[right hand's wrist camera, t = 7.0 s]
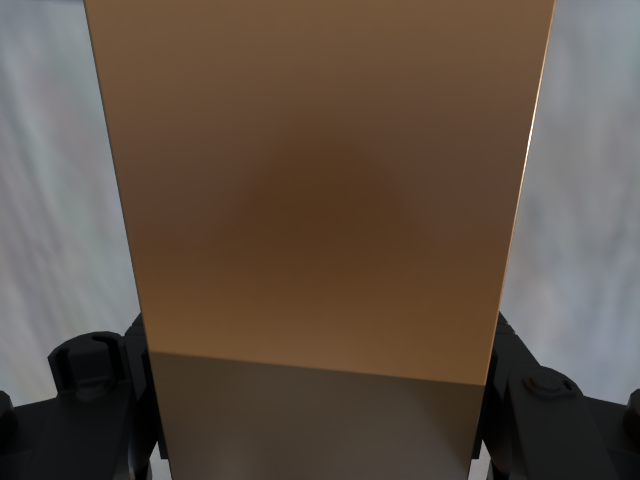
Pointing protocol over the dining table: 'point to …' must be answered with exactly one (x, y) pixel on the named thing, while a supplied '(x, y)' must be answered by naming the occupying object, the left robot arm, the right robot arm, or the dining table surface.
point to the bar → (319, 221)
